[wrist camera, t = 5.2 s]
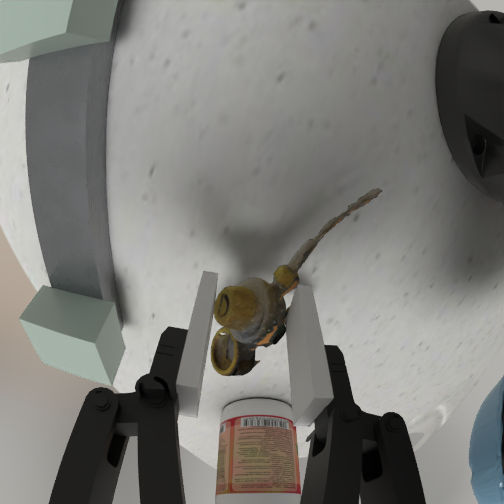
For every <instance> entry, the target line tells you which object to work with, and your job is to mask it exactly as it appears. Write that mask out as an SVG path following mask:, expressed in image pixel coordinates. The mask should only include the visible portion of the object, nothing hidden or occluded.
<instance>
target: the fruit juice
mask: <svg viewBox="0 0 504 504" xmlns="http://www.w3.org/2000/svg"><path fill="white" fill-rule="evenodd" d="M299 473H300V472H299V459H298V446H297V434H296V426H293V414H292V408H291V407H290V406H289V405H288V404H286V403H283V402H281V401H277V400H272V399H246V400H240V401H237V402H234V403H231V404H229V405H228V406H226V407H225V408H224V410H223V412H222V415H221V420H220V434H219V449H218V464H217V482H216V496H215V504H300V500H301V487H300V474H299Z"/></svg>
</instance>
